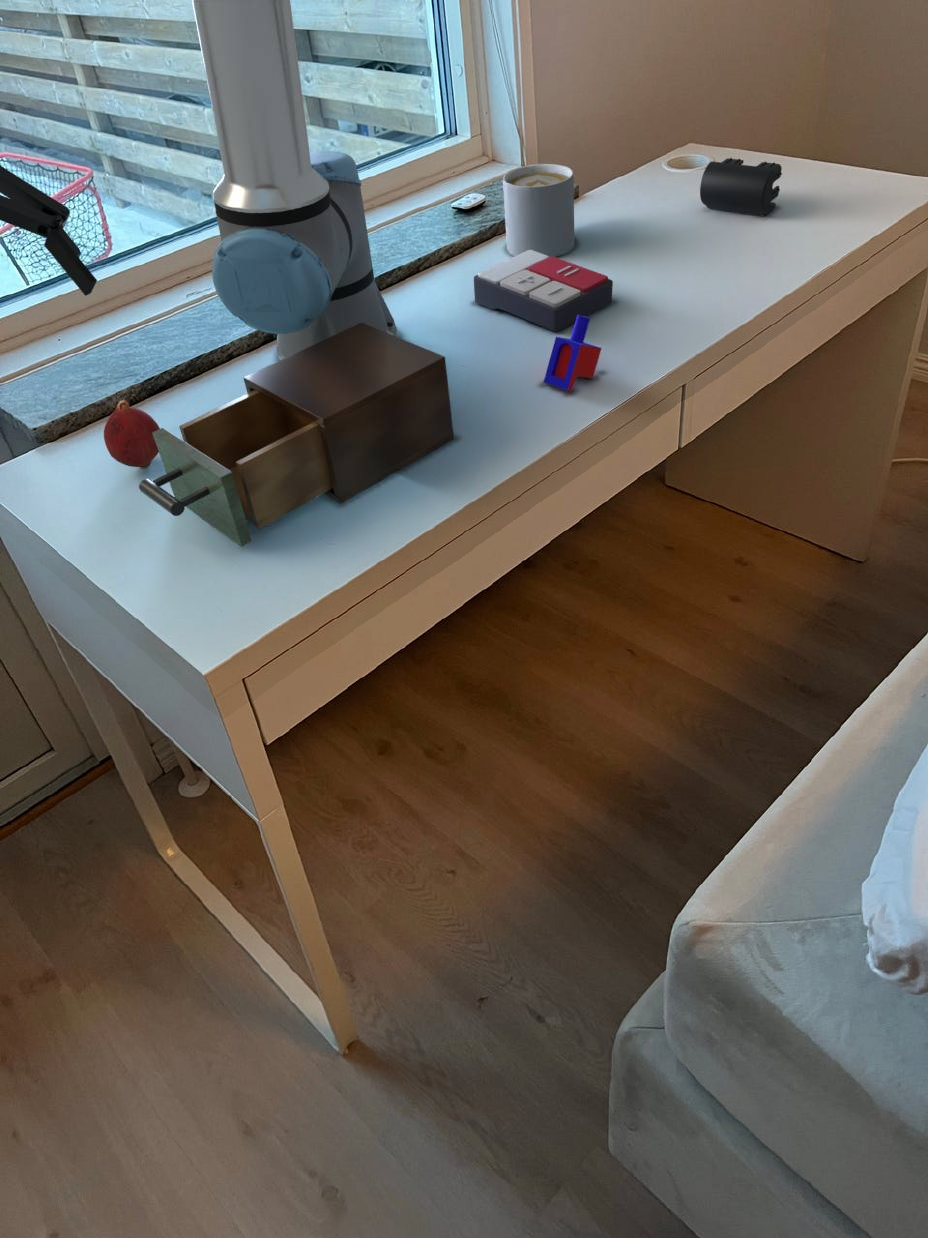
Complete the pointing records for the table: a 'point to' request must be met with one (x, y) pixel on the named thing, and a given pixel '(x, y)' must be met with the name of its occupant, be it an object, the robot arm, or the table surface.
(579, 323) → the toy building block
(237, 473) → the drawer
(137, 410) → the onion
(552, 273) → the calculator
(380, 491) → the table surface
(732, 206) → the end cap
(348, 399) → the cabinet
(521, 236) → the coffee mug
